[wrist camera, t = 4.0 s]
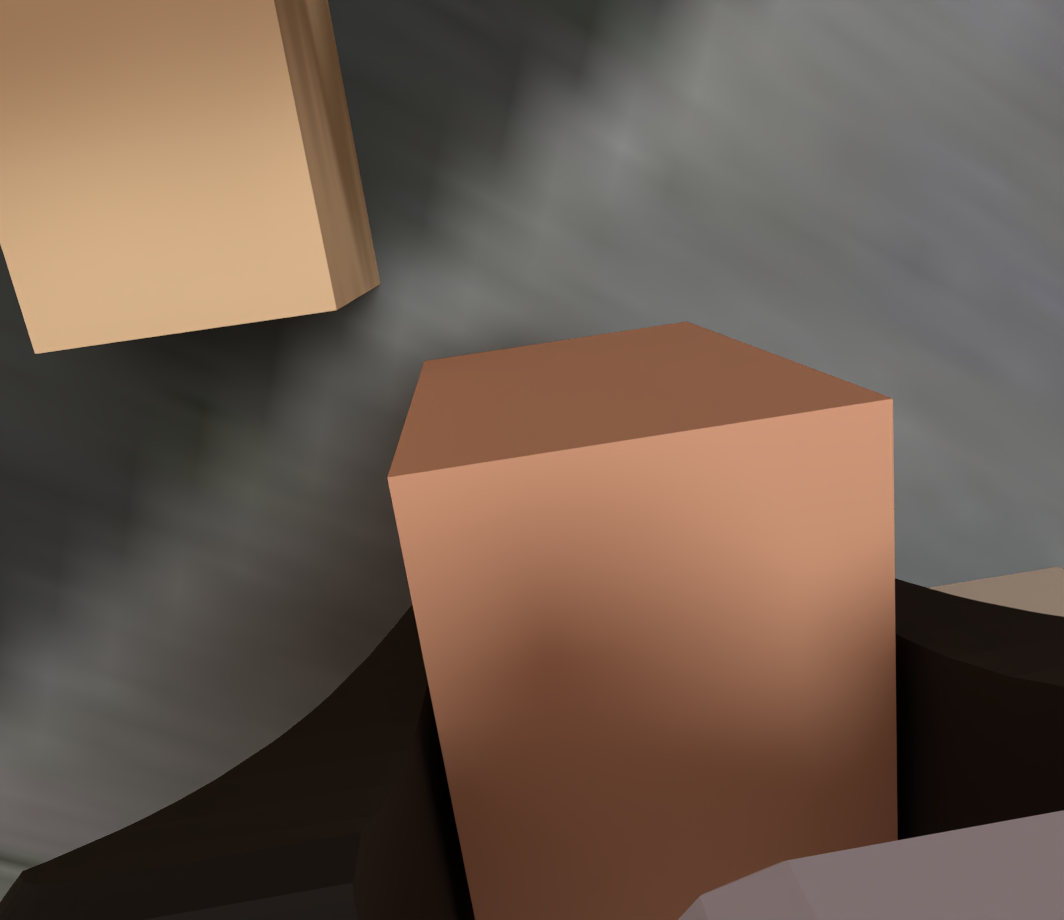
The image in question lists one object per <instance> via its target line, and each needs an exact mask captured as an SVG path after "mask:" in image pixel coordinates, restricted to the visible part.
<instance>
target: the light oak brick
mask: <svg viewBox="0 0 1064 920" xmlns="http://www.w3.org/2000/svg"><path fill="white" fill-rule="evenodd" d="M0 244H1V247H2V250H3V253H4V257H5V260H6V263H7V266H8V269H9V272H10V276H11V279H12V282H13V285H14V288H15V292H16V295H17V298H18V301H19V304H20V307H21V311H22V314H23V317H24V320H25V323H26V327H27V330H28V333H29V336H30V339H31V342H32V346H33V349H34V352H35V354H37V353H44V352H51V351H58V350H65V349H72V348H79V347H86V346H93V345H100V344H107V343H114V342H120V341H127V340H134V339H141V338H148V337H155V336H162V335H169V334H176V333H183V332H190V331H197V330H204V329H210V328H217V327H224V326H231V325H238V324H245V323H252V322H259V321H266V320H273V319H280V318H287V317H294V316H300V315H307V314H314V313H321V312H328V311H335V310H338V309H340V308H341V307H343V306H345V305H346V304H348V303H350V302H351V301H353V300H355V299H356V298H358V297H360V296H361V295H363V294H364V293H366V292H368V291H369V290H371V289H373V288H374V287H376V286H378V285H379V284H380V279H379V274H378V269H377V263H376V258H375V253H374V247H373V242H372V236H371V231H370V226H369V220H368V215H367V209H366V204H365V199H364V193H363V188H362V183H361V177H360V172H359V166H358V161H357V156H356V150H355V145H354V139H353V134H352V129H351V123H350V118H349V113H348V107H347V102H346V96H345V91H344V86H343V80H342V75H341V69H340V64H339V59H338V53H337V48H336V43H335V37H334V32H333V26H332V21H331V16H330V10H329V5H328V0H0Z"/></svg>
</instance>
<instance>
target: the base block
mask: <svg viewBox="0 0 1064 920" xmlns="http://www.w3.org/2000/svg"><path fill="white" fill-rule="evenodd" d="M930 589H933V590H937V591H941V592H944V593H948V594H951V595H955V596H959V597H964V598H968V599H972V600H976V601H981V602H986V603H991V604H996V605H1001V606H1006V607H1011V608H1016V609H1021V610H1026V611H1031V612H1037V613H1043V614H1050V615H1056V616H1062V617H1064V570H1063V569H1061V568H1060V567H1054V568H1048V569H1041V570H1035V571H1029V572H1023V573H1017V574H1011V575H1004V576H998V577H992V578H986V579H980V580H974V581H967V582H961V583H955V584H949V585H943V586H936V587H930Z"/></svg>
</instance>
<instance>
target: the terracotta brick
mask: <svg viewBox="0 0 1064 920" xmlns="http://www.w3.org/2000/svg"><path fill="white" fill-rule="evenodd" d="M387 478H388V483H389V488H390V493H391V498H392V504H393V509H394V514H395V519H396V524H397V529H398V534H399V539H400V544H401V549H402V554H403V559H404V564H405V569H406V574H407V579H408V584H409V589H410V594H411V599H412V604H413V609H414V614H415V619H416V624H417V629H418V635H419V640H420V645H421V650H422V655H423V660H424V665H425V670H426V675H427V680H428V685H429V690H430V695H431V700H432V705H433V710H434V715H435V720H436V725H437V730H438V735H439V740H440V745H441V750H442V755H443V760H444V765H445V771H446V776H447V781H448V786H449V791H450V796H451V801H452V806H453V811H454V816H455V821H456V826H457V831H458V836H459V841H460V846H461V851H462V856H463V861H464V866H465V871H466V876H467V881H468V886H469V891H470V896H471V901H472V907H473V912H474V917H475V920H678V919H679V918H680V917H681V916H682V915H683V914H684V913H685V912H686V910H687V909H688V908H689V907H690V906H691V905H692V904H693V903H694V902H695V901H696V900H697V899H698V897H699V896H701V895H702V894H703V893H705V892H708V891H710V890H713V889H715V888H717V887H720V886H722V885H725V884H727V883H730V882H732V881H734V880H737V879H739V878H742V877H744V876H747V875H749V874H752V873H754V872H756V871H759V870H761V869H764V868H766V867H769V866H771V865H774V864H776V863H778V862H781V861H786V860H792V859H797V858H803V857H808V856H814V855H820V854H825V853H831V852H836V851H842V850H847V849H853V848H858V847H864V846H869V845H875V844H880V843H886V842H891V841H897V840H898V825H897V733H896V642H895V550H894V458H893V399H892V398H890V397H887V396H884V395H882V394H879V393H876V392H874V391H871V390H868V389H866V388H863V387H860V386H858V385H855V384H852V383H850V382H847V381H844V380H842V379H839V378H836V377H834V376H831V375H828V374H826V373H823V372H820V371H818V370H815V369H812V368H810V367H807V366H804V365H802V364H799V363H796V362H794V361H791V360H788V359H786V358H783V357H780V356H778V355H775V354H772V353H770V352H767V351H764V350H761V349H759V348H756V347H753V346H751V345H748V344H745V343H743V342H740V341H737V340H735V339H732V338H729V337H727V336H724V335H721V334H719V333H716V332H713V331H711V330H708V329H705V328H703V327H700V326H697V325H695V324H692V323H689V322H681V323H675V324H668V325H661V326H655V327H648V328H641V329H635V330H628V331H621V332H615V333H608V334H601V335H595V336H588V337H581V338H575V339H568V340H561V341H555V342H548V343H541V344H535V345H528V346H521V347H515V348H508V349H501V350H495V351H488V352H481V353H475V354H468V355H461V356H455V357H448V358H441V359H435V360H428V361H424V364H423V367H422V370H421V374H420V377H419V380H418V383H417V386H416V389H415V392H414V396H413V399H412V402H411V405H410V408H409V411H408V414H407V417H406V421H405V424H404V427H403V430H402V433H401V436H400V439H399V443H398V446H397V449H396V452H395V455H394V458H393V461H392V464H391V468H390V471H389V474H388V477H387Z"/></svg>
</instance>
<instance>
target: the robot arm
mask: <svg viewBox="0 0 1064 920" xmlns="http://www.w3.org/2000/svg"><path fill="white" fill-rule="evenodd" d="M895 642H896V733H897V825H898V840H897V841H891V842H886V843H880V844H875V845H869V846H864V847H858V848H853V849H847V850H842V851H836V852H831V853H825V854H820V855H814V856H808V857H803V858H797V859H792V860H786V861H781V862H778V863H776V864H774V865H771V866H769V867H766V868H764V869H761V870H759V871H756V872H754V873H752V874H749V875H747V876H744V877H742V878H739V879H737V880H734V881H732V882H730V883H727V884H725V885H722V886H720V887H717V888H715V889H713V890H710V891H708V892H705V893H703V894H702V895H701V896H699V897H698V899H697V900H696V901H695V902H694V903H693V904H692V905H691V906H690V907H689V908H688V909H687V910H686V912H685V913H684V914H683V915H682V916H681V917H680V918H679V919H678V920H1064V617H1062V616H1056V615H1050V614H1043V613H1037V612H1031V611H1026V610H1021V609H1016V608H1011V607H1006V606H1001V605H996V604H991V603H986V602H981V601H976V600H972V599H968V598H964V597H959V596H955V595H951V594H948V593H944V592H941V591H937V590H933V589H930V588H926V587H922V586H919V585H915V584H912V583H908V582H905V581H902V580H898V579H895ZM0 920H475V917H474V912H473V907H472V901H471V896H470V891H469V886H468V881H467V876H466V871H465V866H464V861H463V856H462V851H461V846H460V841H459V836H458V831H457V826H456V821H455V816H454V811H453V806H452V801H451V796H450V791H449V786H448V781H447V776H446V771H445V765H444V760H443V755H442V750H441V745H440V740H439V735H438V730H437V725H436V720H435V715H434V710H433V705H432V700H431V695H430V690H429V685H428V680H427V675H426V670H425V665H424V660H423V655H422V650H421V645H420V640H419V635H418V629H417V624H416V619H415V614H414V609H413V605H412V606H411V607H410V608H409V609H408V611H407V612H406V613H405V614H404V615H403V617H402V618H401V619H400V620H399V622H398V623H397V624H396V625H395V626H394V628H393V629H392V630H391V631H390V632H389V634H388V635H387V636H386V637H385V638H384V639H383V640H382V642H381V643H380V644H379V645H378V646H377V647H376V649H375V650H374V651H373V652H372V653H371V654H370V655H369V657H368V658H367V659H366V660H365V661H364V662H363V663H362V664H361V665H360V666H359V667H358V668H357V669H356V670H355V671H354V672H353V673H352V674H351V675H350V676H349V677H348V678H347V679H346V680H345V681H344V682H343V683H342V684H341V685H340V686H339V687H338V688H337V689H336V690H335V691H334V692H333V693H332V694H331V695H330V696H329V697H328V698H327V699H326V700H324V701H323V702H322V703H321V704H320V705H319V706H318V707H316V708H315V709H314V710H313V711H312V712H311V713H310V714H308V715H307V716H306V717H305V718H303V719H302V720H301V721H300V722H298V723H297V724H296V725H294V726H293V727H292V728H291V729H289V730H288V731H287V732H286V733H284V734H283V735H282V736H280V737H279V738H278V739H276V740H275V741H274V742H272V743H271V744H269V745H268V746H266V747H265V748H263V749H262V750H260V751H259V752H257V753H256V754H254V755H253V756H251V757H249V758H248V759H246V760H245V761H243V762H242V763H240V764H239V765H237V766H236V767H234V768H233V769H231V770H230V771H228V772H227V773H225V774H224V775H222V776H221V777H219V778H217V779H216V780H214V781H212V782H211V783H209V784H207V785H205V786H204V787H202V788H200V789H198V790H197V791H195V792H193V793H191V794H190V795H188V796H186V797H184V798H182V799H181V800H179V801H177V802H175V803H173V804H171V805H169V806H167V807H165V808H163V809H161V810H160V811H158V812H156V813H154V814H152V815H150V816H148V817H146V818H144V819H142V820H140V821H138V822H136V823H134V824H132V825H130V826H127V827H125V828H123V829H121V830H119V831H117V832H114V833H112V834H110V835H107V836H105V837H103V838H101V839H98V840H96V841H94V842H91V843H89V844H87V845H84V846H82V847H80V848H77V849H75V850H73V851H71V852H68V853H66V854H64V855H61V856H59V857H57V858H54V859H52V860H50V861H47V862H45V863H43V864H40V865H37V866H35V867H32V868H30V869H27V870H25V871H23V872H22V873H21V874H20V876H19V877H18V878H17V880H16V881H15V882H14V884H13V885H12V886H11V888H10V889H9V891H8V892H7V894H6V895H5V896H4V898H3V899H2V901H1V902H0Z"/></svg>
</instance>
